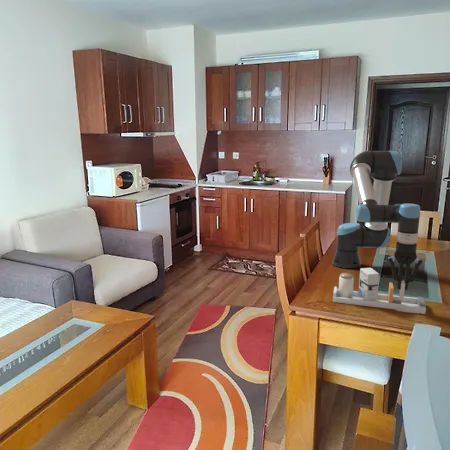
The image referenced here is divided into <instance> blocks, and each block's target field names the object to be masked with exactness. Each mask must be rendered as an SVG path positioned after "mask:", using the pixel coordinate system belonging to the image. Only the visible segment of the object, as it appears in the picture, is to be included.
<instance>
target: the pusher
mask: <svg viewBox="0 0 450 450" xmlns="http://www.w3.org/2000/svg"><path fill="white" fill-rule="evenodd" d="M394 289H395V288H394V284H393V282H391V281H390V282H389V285H388V294H387V295H388V303H395V304H401V300H393V295H394Z"/></svg>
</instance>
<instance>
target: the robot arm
mask: <svg viewBox="0 0 450 450" xmlns="http://www.w3.org/2000/svg"><path fill="white" fill-rule="evenodd" d="M402 169H403V160H402V157H401V154H400V153H399V151H396V150H365V151H361V152H360V153H359V154H357V155H356V156H354V158H353V159H352V161H351V163H350V166H349V172H350V176H351V178H353V181H354V186H355V191H356V196H357V200H358V204H357V206H356V208H355V219H356V221H357V222H346V223H345V222H344V223H342V224H340V225H339V226H337V231H336V232H337V233H336V234H337V236H336V237H337V238H336V251H335V254H334V256H333V258H332V265H333V264H334V265H335V266H334V265H333V266H334V267H336V266H338V267H337V268H340V267H342V268H341V269H345V268H355V269H359V268H361V267H362V266H361V265H362V260H361V257H360V253H359V248H369V249H371V248H372V249H373V248H375V249H383V248H386V247H387V246H388V244H389V242H390V239H391V230H390V228H389V226H388V224H389V223H390V224H393V223H395V224H397V232H396V233H397V234H396V243H395V244H396V245H395V252H394V253H393V255H391V256H388V257H387V260H388V261H389V263H390V265H391V266H390V267H391V273H392V277H393V278H392V279H393V280H394V281H396V282H397V283H396V284H397V285H396V288H397V289H398V290H399V293H398V294H399V295H398V296H400V298H404V297H405V291H408V287H409V283H414V280H415V277H416V275H417V273H418V270H419V268H420V266H421V265H422V264H423V260H422V259H421V258H419V257H418V256H417V247H418V245H417V242H418V237H419V236H418V233H419V226H420V216H421V206H420V204H415V203H396V204H389V201H390V195H391V190H392V183H393V181H395V180H396V179H397V176H400V175H401V174H402ZM372 179H373V181H372ZM358 222H360V223H361V222H362V223H364V225H361V224H360V223H358ZM387 223H388V224H387ZM395 261H397V262H398V273H397V271H396V266H395ZM412 263H414V265H413V268H412V271H411V274H410V267H411V264H412ZM404 265H405V272H404V280H402V279H403V271H404V270H403V269H404ZM358 267H359V268H358Z"/></svg>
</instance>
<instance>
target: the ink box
mask: <svg viewBox="0 0 450 450" xmlns="http://www.w3.org/2000/svg"><path fill="white" fill-rule="evenodd" d="M359 269H360V270H359V280H358V293H359V294H360V295H361V296H362V297H363V298H364V299H365V300H366V301H369V300H377V294H379V292H378V291H379V279H380V274H379V272H377V271H376V270H375V269H373V268H372V267H359Z"/></svg>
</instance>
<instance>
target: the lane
mask: <svg viewBox="0 0 450 450" xmlns="http://www.w3.org/2000/svg"><path fill="white" fill-rule="evenodd" d="M338 292H339V288H338V286H334V287H333V293H332V294H333V295H332V302H333V303H337V304H338V303H339V304H348V305H357V306H363V307H365V306H366V307H374V308H382V309H390V310H395V311H396V312H403V313H411V314H413V313H414V314H420V313H421V314H422V315H426V311H427V307H426V306H427V304H426V302H425V299H424V297H423V296H417V297H412V296H404V298H400V296H399V295H394V294H393V300H401V304H395V303H388V294H386V293H385V294H384V293H378V294H377V300H369V301H366V300H365V299H364V298H363V297H362V296H361V295H360V294H359V293H358V292H359V290H358V291H355V290H353V299H352V298H343V297H338ZM421 314H420V315H421Z"/></svg>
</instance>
